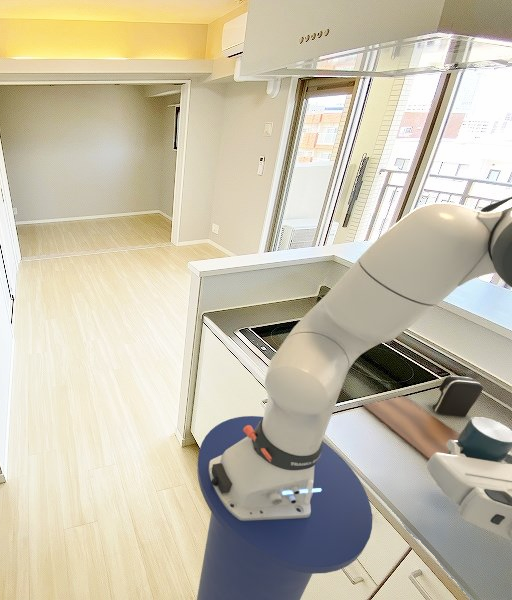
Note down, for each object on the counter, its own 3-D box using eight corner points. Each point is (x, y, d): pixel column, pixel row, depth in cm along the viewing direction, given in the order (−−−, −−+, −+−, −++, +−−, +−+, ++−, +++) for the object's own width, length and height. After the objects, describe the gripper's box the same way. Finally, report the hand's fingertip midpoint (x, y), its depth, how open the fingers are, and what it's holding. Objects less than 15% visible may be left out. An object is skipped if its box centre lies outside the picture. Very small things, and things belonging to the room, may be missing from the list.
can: (467, 490, 62) (501, 446, 56) (434, 462, 67) (461, 419, 61) (492, 483, 63) (528, 439, 57) (457, 456, 68) (486, 413, 62)
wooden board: (429, 461, 77) (430, 459, 77) (362, 406, 93) (363, 404, 93) (476, 448, 80) (477, 447, 79) (403, 397, 95) (404, 395, 95)
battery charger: (456, 407, 91) (476, 375, 86) (466, 418, 88) (487, 385, 83) (427, 404, 93) (444, 372, 87) (435, 414, 89) (454, 382, 84)
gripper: (643, 525, 47) (554, 444, 59) (468, 494, 51) (419, 425, 63) (613, 548, 50) (534, 467, 61) (451, 517, 54) (406, 447, 66)
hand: (474, 445), depth 62 cm, fingers closed on can, 6 cm apart
